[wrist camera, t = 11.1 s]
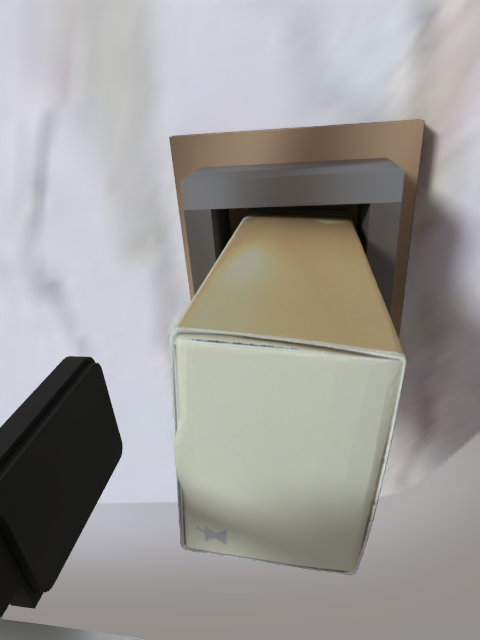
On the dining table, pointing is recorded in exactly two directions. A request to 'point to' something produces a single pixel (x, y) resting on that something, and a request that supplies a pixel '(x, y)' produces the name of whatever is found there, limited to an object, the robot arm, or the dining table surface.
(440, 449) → the dining table surface
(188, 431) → the skincare box
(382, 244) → the sleeve stand
